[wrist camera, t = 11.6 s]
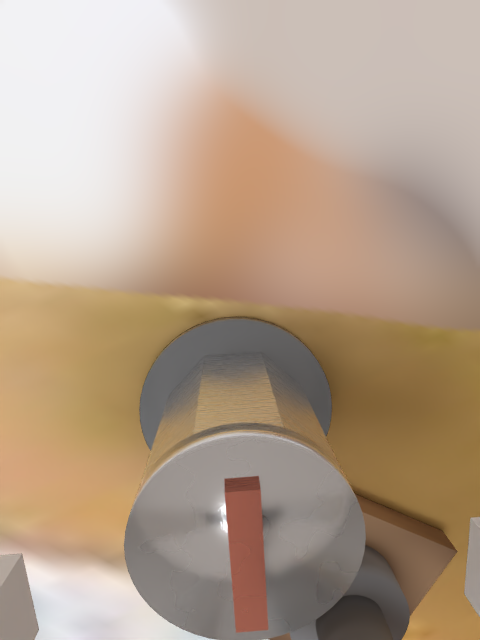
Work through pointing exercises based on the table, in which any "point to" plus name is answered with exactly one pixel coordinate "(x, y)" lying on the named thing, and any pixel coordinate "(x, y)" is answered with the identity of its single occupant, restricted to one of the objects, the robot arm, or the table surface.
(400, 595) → the post stand
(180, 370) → the coaster
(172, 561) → the grey cylinder
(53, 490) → the table surface
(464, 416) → the table surface
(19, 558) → the robot arm
